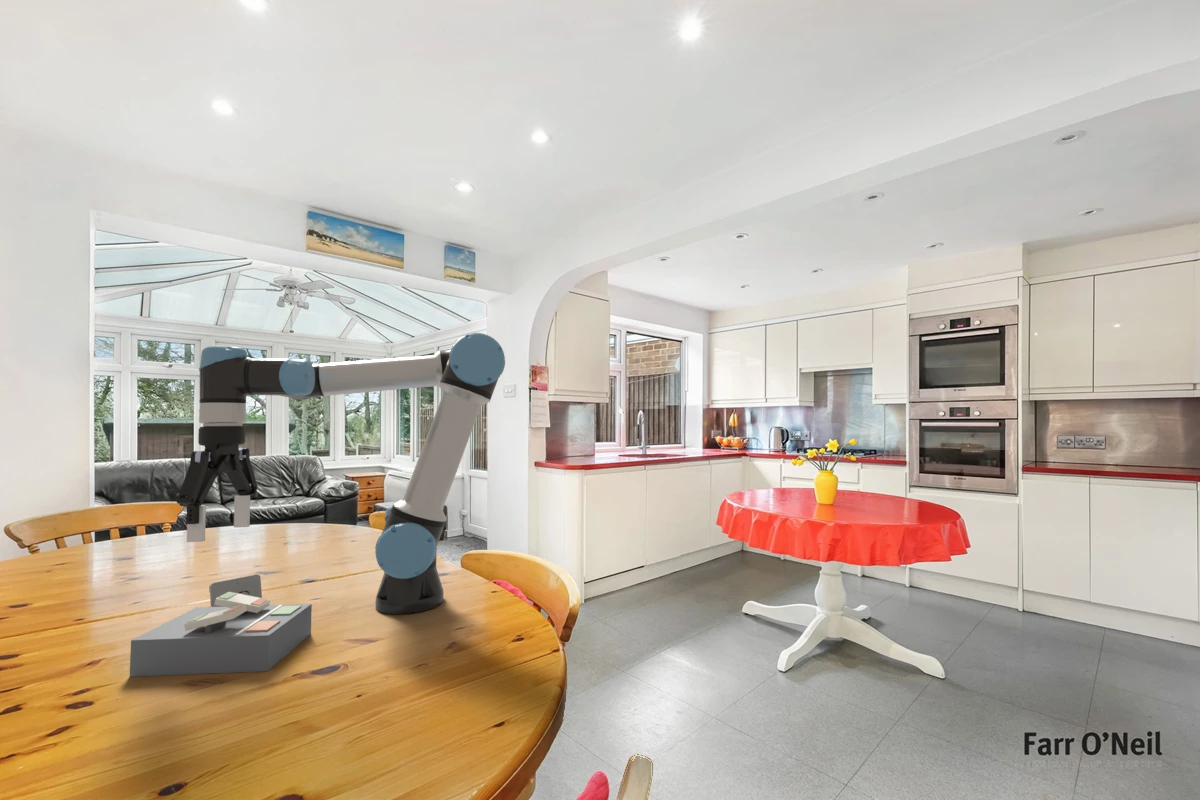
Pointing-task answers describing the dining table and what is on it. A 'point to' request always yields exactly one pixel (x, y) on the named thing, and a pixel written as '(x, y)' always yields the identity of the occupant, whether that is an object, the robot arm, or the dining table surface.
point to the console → (221, 642)
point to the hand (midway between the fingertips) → (220, 534)
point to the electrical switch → (236, 587)
